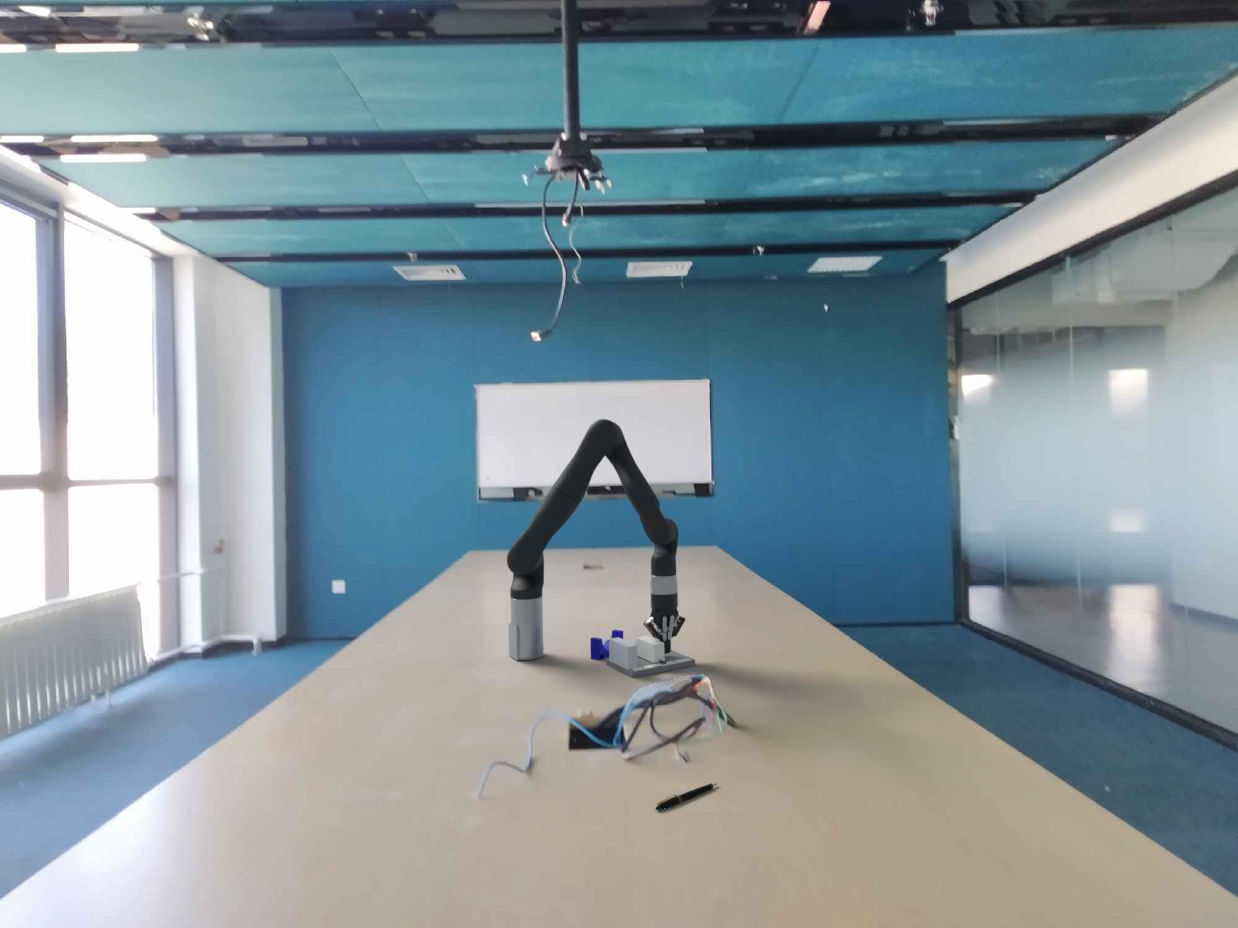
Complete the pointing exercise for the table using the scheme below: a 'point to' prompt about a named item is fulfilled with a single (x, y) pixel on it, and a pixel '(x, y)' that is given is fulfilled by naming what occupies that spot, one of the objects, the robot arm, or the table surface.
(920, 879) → the table surface
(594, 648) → the cable clip
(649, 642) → the block
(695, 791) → the fountain pen
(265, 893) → the table surface
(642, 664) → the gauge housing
